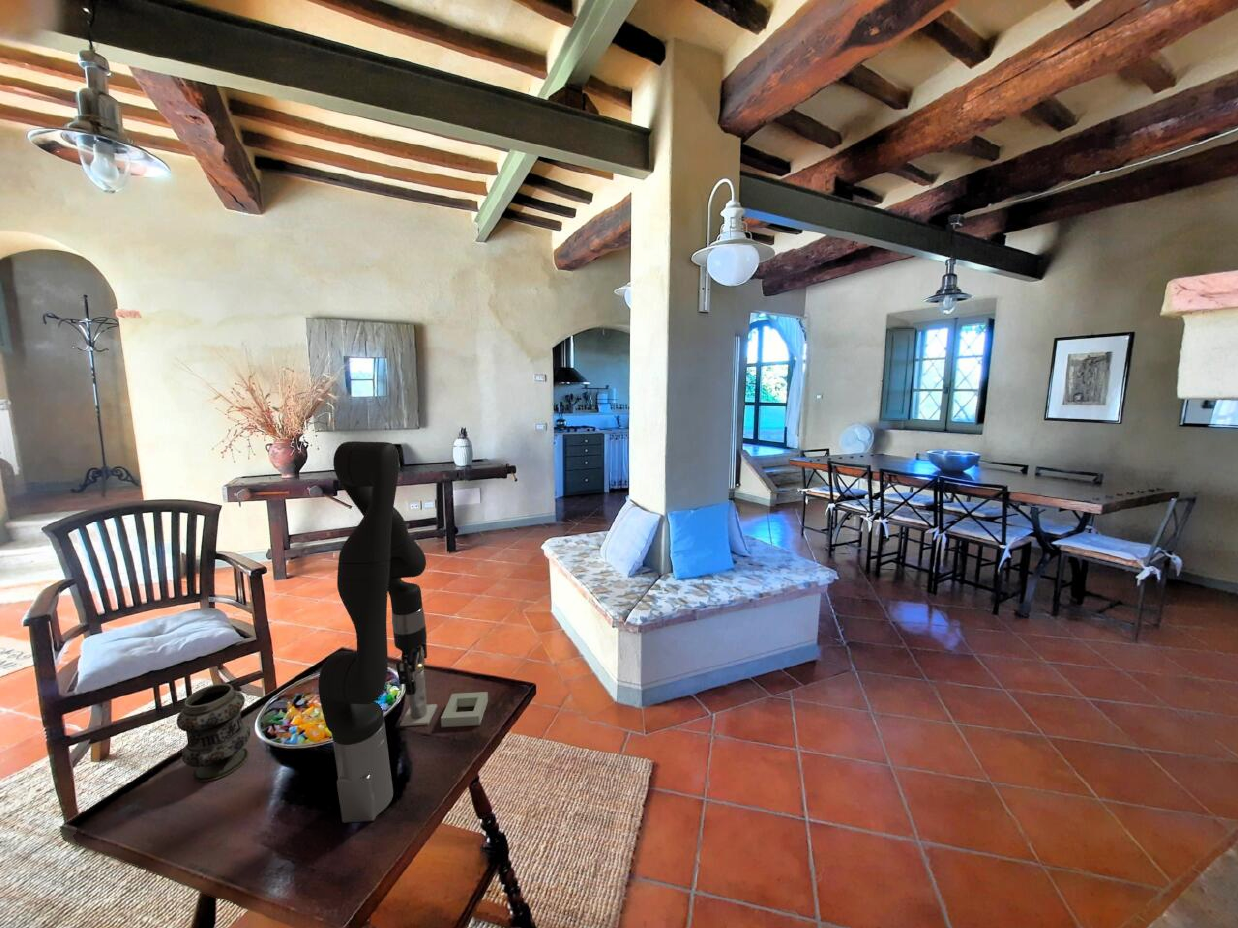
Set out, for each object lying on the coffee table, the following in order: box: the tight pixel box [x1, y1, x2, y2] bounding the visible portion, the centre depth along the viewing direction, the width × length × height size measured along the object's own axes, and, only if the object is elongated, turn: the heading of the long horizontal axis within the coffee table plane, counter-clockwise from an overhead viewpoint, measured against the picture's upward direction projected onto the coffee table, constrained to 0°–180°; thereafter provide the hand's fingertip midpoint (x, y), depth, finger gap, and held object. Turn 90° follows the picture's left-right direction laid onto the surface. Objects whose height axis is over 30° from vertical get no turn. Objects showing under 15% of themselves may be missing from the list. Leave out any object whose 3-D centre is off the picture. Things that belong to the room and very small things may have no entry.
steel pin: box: [408, 660, 428, 719], centre depth 124 cm, size 4×4×14 cm
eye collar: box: [440, 691, 489, 728], centre depth 126 cm, size 10×10×2 cm
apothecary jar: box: [176, 683, 251, 783], centre depth 109 cm, size 12×12×18 cm
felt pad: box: [399, 703, 438, 727], centre depth 125 cm, size 7×7×1 cm
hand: (415, 685), depth 124 cm, fingers open, 6 cm apart
